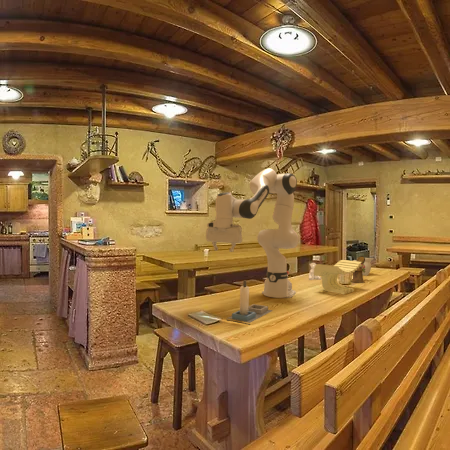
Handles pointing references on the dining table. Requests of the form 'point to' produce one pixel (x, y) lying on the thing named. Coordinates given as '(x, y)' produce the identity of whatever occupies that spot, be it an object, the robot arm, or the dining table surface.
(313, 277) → the white creature statuette
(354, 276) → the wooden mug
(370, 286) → the dining table surface
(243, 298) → the knob-topped cream cylinder
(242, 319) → the lever base plate
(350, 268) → the slatted curved stool
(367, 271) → the pitcher
